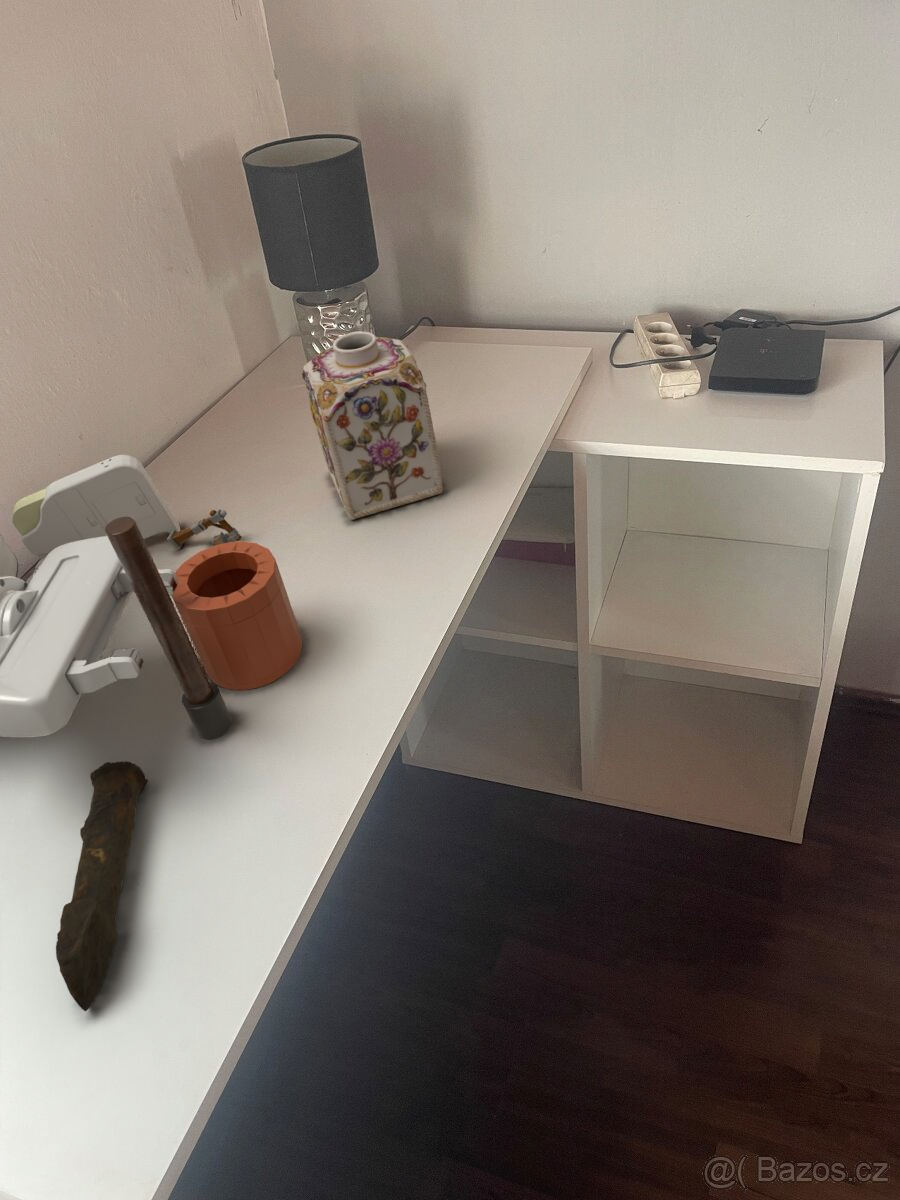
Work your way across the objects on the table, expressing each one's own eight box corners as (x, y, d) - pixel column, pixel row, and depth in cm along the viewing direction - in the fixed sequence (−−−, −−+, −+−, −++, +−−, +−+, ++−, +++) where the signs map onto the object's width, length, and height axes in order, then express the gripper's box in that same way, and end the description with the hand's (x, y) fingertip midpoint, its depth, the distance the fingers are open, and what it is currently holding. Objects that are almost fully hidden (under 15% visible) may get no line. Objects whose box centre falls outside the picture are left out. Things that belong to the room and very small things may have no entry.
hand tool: (106, 792, 72) (82, 757, 69) (153, 784, 72) (131, 749, 69) (49, 1021, 58) (17, 990, 55) (108, 1012, 58) (79, 980, 55)
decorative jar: (418, 447, 108) (392, 307, 96) (447, 494, 99) (422, 346, 87) (326, 474, 106) (288, 334, 94) (346, 524, 97) (308, 377, 86)
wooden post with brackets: (244, 541, 96) (217, 511, 93) (192, 566, 99) (165, 537, 97) (249, 531, 97) (223, 501, 95) (198, 556, 100) (171, 528, 98)
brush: (189, 729, 77) (88, 530, 62) (217, 706, 78) (125, 507, 64) (211, 745, 75) (113, 543, 60) (239, 721, 76) (150, 520, 62)
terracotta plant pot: (186, 664, 83) (148, 585, 77) (259, 608, 88) (230, 530, 81) (247, 705, 78) (213, 624, 71) (322, 643, 83) (296, 562, 76)
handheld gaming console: (59, 576, 101) (179, 524, 102) (59, 590, 99) (182, 537, 100) (1, 501, 93) (131, 447, 94) (-1, 515, 91) (133, 459, 92)
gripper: (61, 578, 80) (204, 568, 79) (-43, 753, 65) (131, 745, 63) (31, 524, 76) (180, 511, 75) (-88, 697, 61) (96, 686, 59)
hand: (157, 620), depth 69 cm, fingers open, 8 cm apart
